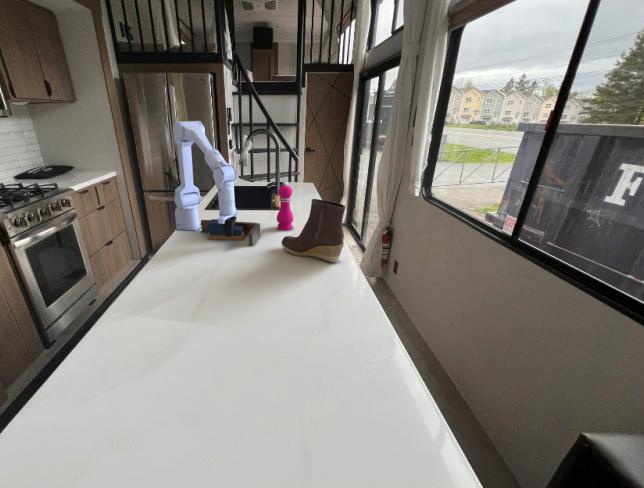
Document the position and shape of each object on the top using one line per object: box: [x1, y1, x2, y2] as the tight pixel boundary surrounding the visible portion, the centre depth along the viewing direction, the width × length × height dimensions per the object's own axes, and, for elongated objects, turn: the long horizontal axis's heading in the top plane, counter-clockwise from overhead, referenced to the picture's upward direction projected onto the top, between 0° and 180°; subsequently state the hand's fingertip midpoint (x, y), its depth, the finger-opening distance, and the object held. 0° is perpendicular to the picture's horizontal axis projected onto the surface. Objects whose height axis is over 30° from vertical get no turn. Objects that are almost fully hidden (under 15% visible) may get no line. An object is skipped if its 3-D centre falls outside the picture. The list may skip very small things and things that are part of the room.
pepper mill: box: [276, 181, 294, 232], centre depth 136 cm, size 7×7×20 cm
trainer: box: [207, 218, 246, 241], centre depth 130 cm, size 14×6×6 cm, turn 84°
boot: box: [281, 198, 347, 264], centre depth 110 cm, size 9×24×20 cm, turn 53°
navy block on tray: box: [200, 219, 261, 247], centre depth 130 cm, size 26×13×5 cm, turn 78°
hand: (229, 236), depth 122 cm, fingers closed
